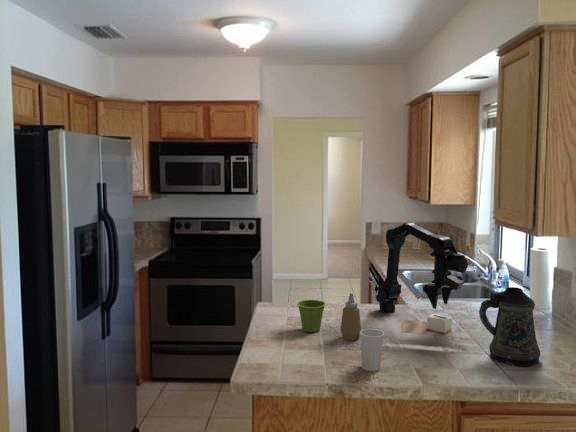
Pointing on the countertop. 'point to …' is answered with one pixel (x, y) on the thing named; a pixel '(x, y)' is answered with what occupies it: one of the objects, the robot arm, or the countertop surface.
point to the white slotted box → (439, 323)
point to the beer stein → (512, 328)
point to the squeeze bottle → (351, 320)
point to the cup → (371, 349)
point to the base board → (421, 328)
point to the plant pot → (311, 314)
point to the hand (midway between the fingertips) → (440, 306)
